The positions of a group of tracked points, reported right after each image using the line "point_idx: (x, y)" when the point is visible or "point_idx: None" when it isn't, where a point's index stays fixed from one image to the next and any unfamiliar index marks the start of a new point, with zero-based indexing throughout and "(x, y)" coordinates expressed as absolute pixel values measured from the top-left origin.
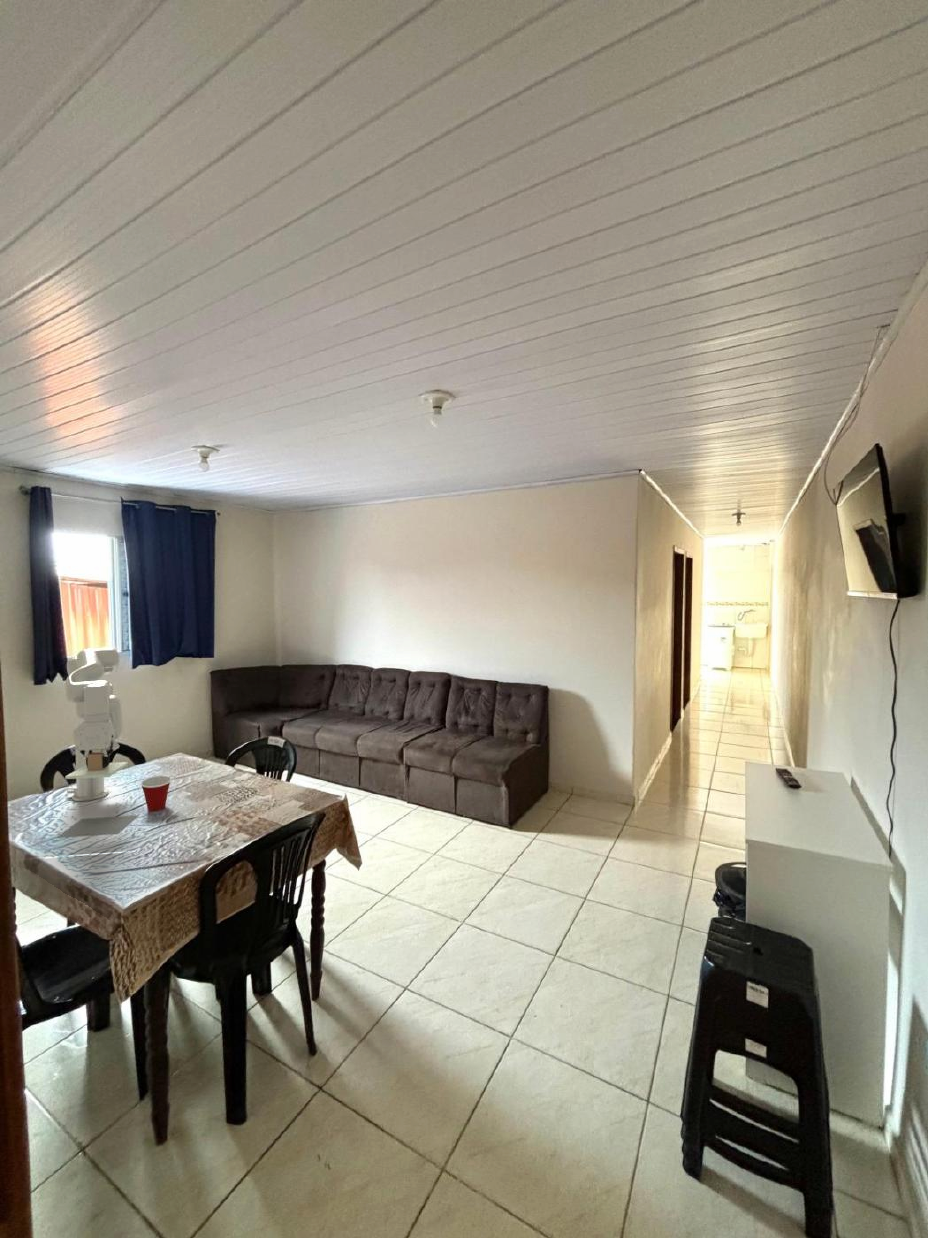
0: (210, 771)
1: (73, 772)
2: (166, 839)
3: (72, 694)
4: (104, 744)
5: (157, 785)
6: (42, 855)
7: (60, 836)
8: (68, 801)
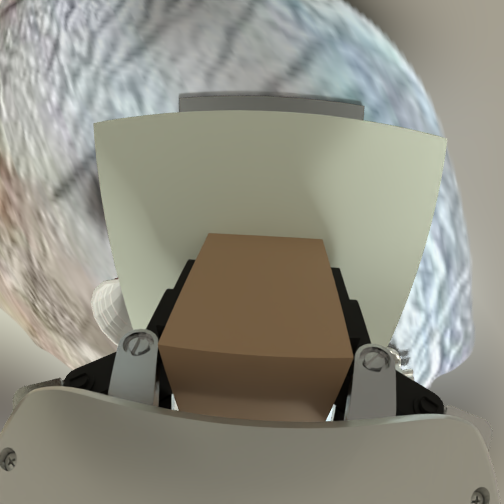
0: None
1: (420, 227)
2: (57, 76)
3: None
4: (31, 450)
5: None
6: (340, 7)
7: (355, 111)
8: (404, 348)
